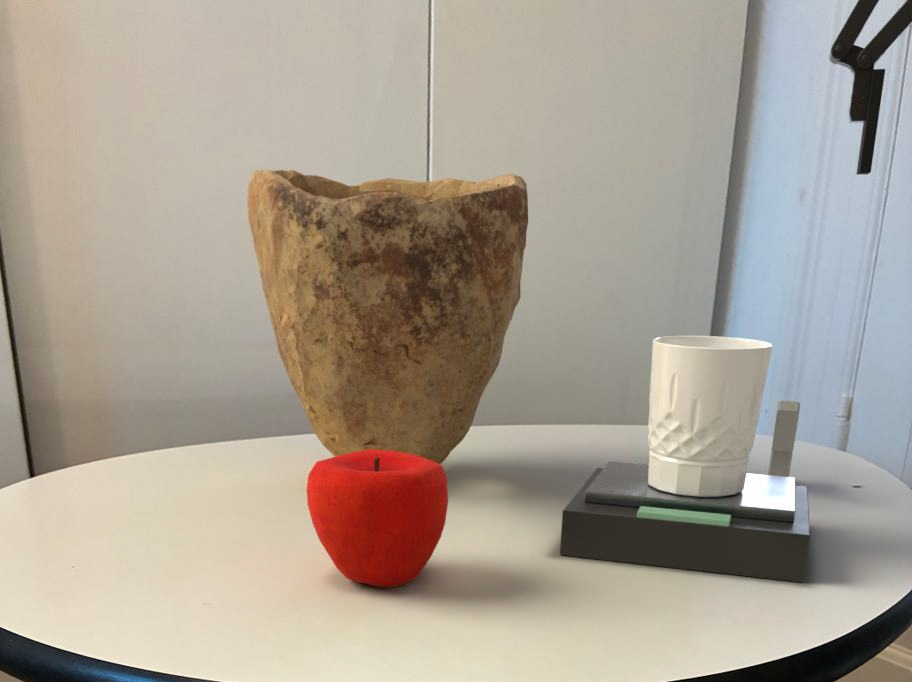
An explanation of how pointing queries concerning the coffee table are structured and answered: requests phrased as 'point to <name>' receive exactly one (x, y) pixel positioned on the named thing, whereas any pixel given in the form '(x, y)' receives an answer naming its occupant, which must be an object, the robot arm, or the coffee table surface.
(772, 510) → the scale pan
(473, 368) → the brown clay pot
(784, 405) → the beige upright slab
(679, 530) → the scale
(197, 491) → the coffee table surface
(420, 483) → the apple
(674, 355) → the white cup
